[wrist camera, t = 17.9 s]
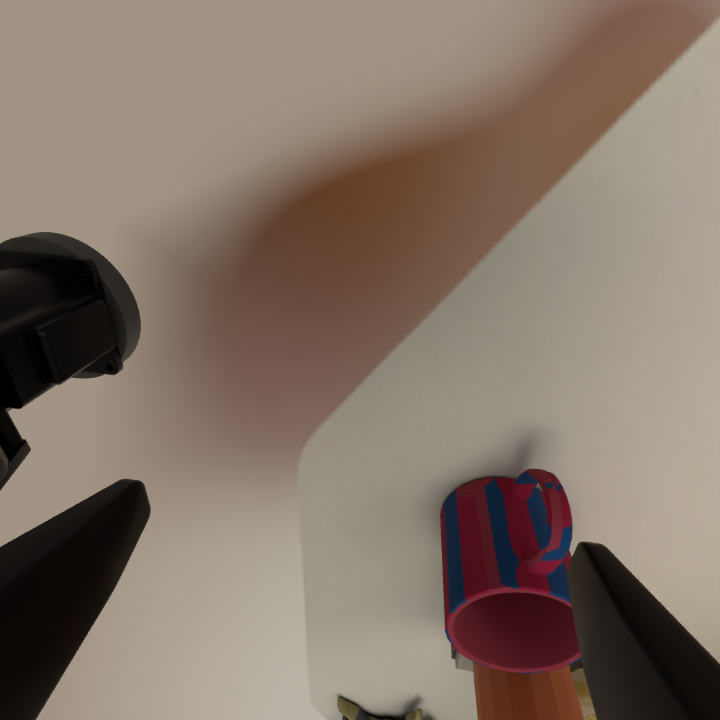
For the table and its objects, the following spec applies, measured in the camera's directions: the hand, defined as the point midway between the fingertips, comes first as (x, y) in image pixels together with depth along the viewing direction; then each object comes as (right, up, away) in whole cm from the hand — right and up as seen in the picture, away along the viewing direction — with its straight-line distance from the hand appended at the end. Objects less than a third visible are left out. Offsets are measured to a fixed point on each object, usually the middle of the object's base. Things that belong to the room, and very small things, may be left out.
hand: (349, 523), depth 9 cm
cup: (+9, -5, +16) cm, 19 cm away
